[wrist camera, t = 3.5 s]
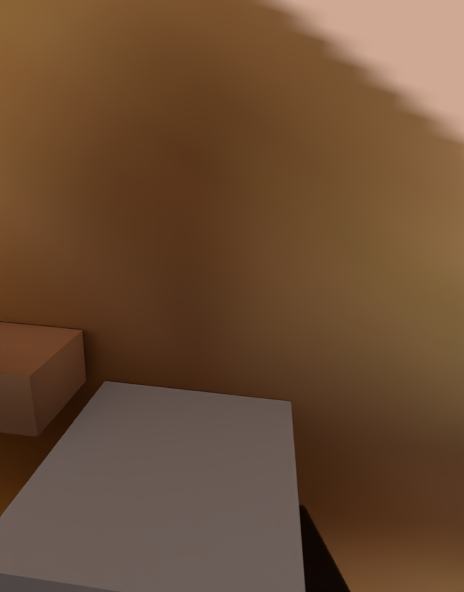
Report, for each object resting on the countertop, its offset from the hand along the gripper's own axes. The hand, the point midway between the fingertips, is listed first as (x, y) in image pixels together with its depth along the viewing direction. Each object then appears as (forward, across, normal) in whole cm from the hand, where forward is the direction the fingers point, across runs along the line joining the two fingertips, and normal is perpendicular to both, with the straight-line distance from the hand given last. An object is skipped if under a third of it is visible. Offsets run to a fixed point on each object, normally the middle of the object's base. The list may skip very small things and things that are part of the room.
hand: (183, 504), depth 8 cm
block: (+1, 0, 0) cm, 1 cm away
